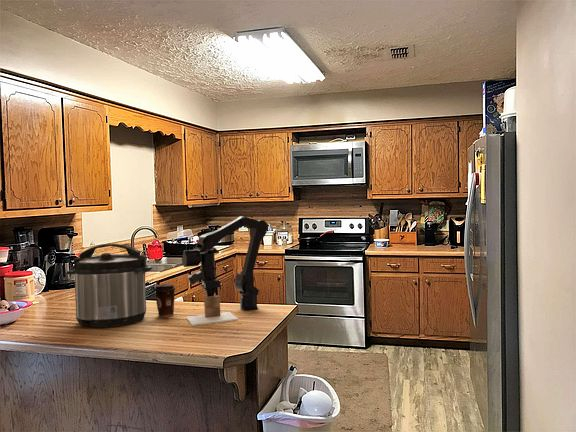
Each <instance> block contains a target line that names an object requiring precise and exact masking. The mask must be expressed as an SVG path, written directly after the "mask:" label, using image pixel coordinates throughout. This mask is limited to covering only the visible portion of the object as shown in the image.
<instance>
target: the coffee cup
mask: <svg viewBox="0 0 576 432" xmlns="http://www.w3.org/2000/svg"><path fill="white" fill-rule="evenodd" d="M153 291H154V292H156V293H155V302H156V307H157V308H156V309H157V311H158V312H157V313H158V317H161V318H165V317H166V318H167V317H172V316H174V315H175V313H174V312H175V293H176V292H175V291H176V288H175V286H174V284H172V283H171V284H169V283H162V284H157V285H156V286H155V288H154V290H153Z"/></svg>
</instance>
